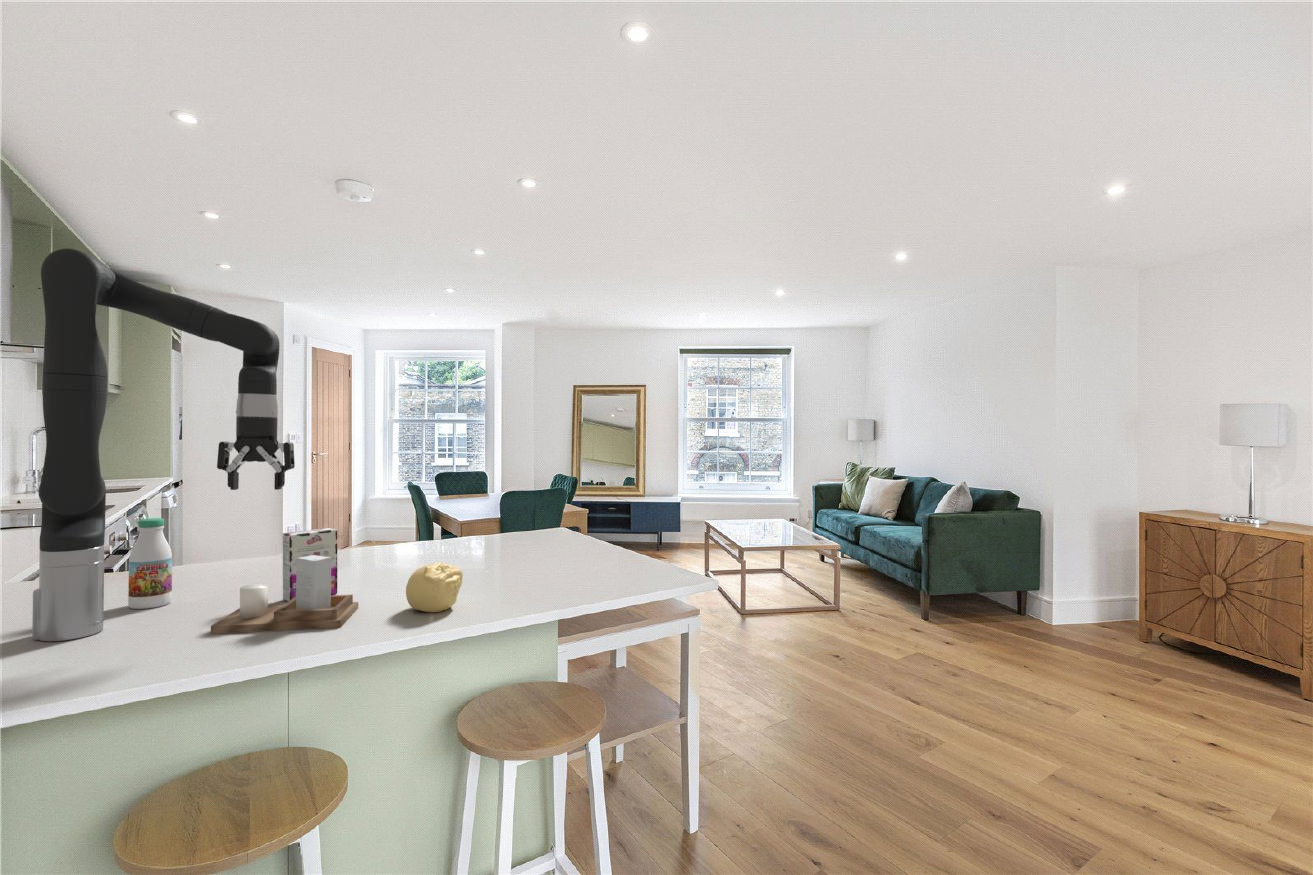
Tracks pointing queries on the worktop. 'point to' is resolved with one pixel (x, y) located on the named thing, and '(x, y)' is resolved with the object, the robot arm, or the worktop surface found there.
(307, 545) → the candy bar box
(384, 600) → the worktop surface
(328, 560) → the skincare box
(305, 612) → the walnut organizer
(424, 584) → the sculpture
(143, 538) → the milk bottle
